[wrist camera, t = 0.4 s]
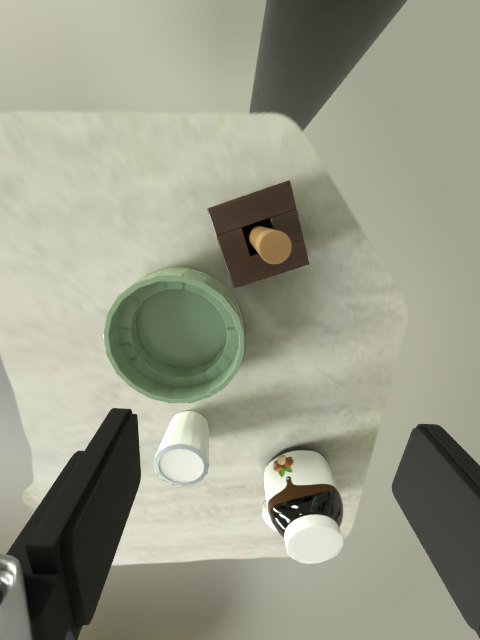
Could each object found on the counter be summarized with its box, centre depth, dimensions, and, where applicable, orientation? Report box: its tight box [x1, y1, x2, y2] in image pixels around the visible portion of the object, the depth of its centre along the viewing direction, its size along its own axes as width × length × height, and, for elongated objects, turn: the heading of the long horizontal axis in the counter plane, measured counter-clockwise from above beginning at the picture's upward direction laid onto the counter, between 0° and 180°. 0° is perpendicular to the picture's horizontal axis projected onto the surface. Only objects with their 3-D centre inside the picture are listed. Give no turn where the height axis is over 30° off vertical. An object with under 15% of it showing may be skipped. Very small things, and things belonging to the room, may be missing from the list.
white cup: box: [154, 411, 209, 486], centre depth 38 cm, size 7×7×7 cm
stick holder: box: [207, 180, 309, 288], centre depth 29 cm, size 8×8×6 cm
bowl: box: [103, 268, 245, 403], centre depth 33 cm, size 15×15×6 cm
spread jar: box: [262, 447, 343, 564], centre depth 39 cm, size 12×11×12 cm
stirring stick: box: [247, 225, 292, 264], centre depth 24 cm, size 2×2×16 cm
